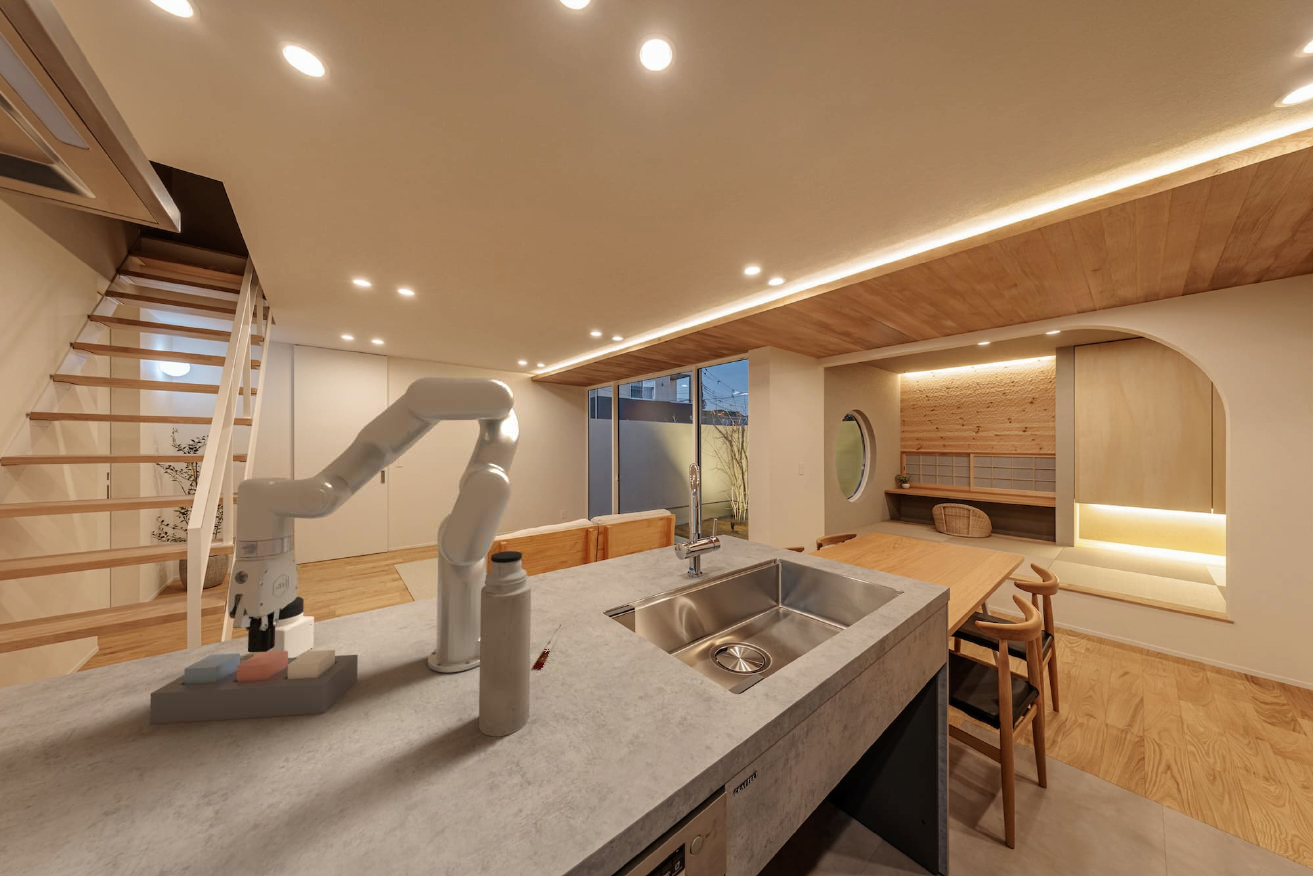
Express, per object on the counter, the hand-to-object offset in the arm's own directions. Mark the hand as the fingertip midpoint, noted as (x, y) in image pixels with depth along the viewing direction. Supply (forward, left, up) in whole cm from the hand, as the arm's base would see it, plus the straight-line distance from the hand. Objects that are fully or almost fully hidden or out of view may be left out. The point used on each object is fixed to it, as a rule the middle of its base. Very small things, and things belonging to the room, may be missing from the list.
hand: (261, 649), depth 76 cm
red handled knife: (-49, -18, -10) cm, 53 cm away
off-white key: (-8, 0, -5) cm, 10 cm away
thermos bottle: (-44, +10, -9) cm, 46 cm away
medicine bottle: (+8, -17, -9) cm, 21 cm away
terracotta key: (0, 0, -5) cm, 5 cm away
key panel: (0, 0, -9) cm, 9 cm away
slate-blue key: (+8, 0, -5) cm, 9 cm away
